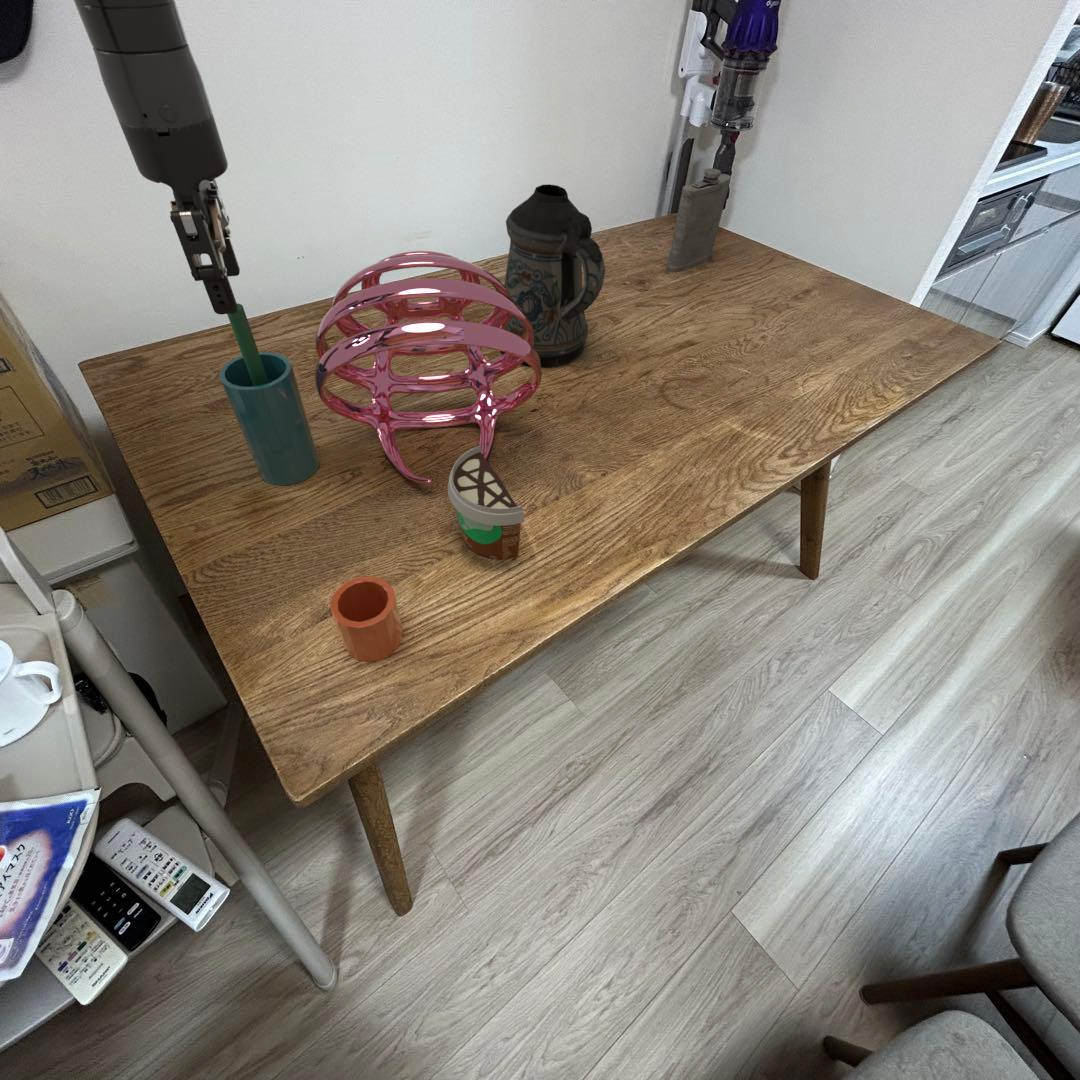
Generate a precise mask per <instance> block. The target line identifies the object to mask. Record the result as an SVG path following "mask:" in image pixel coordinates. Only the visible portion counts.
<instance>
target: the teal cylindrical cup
mask: <svg viewBox="0 0 1080 1080" xmlns="http://www.w3.org/2000/svg"><path fill="white" fill-rule="evenodd" d="M258 352H259V355H260V358H261V361H262V364H263V366H264V369H265V372H266V375H267V378H268V381H269V383H268V384H265V385H261V386H253V383H252V380H251V378H250V375H249V372H248V369H247V367H246V364H245V361H244V359H243V356H242V355H238V356H237V357H235V358H233V359H230V360H229V361H228V362H227V363H225V364H223V366H222V367H221V369H220V371H219V376H218V377H219V381H220V383H221V385H222V388H223V389H224V393H225V395H226V397H227V400H228V402H229V405H230V407H231V409H232V411H233V414H234V417H235V419H236V422H237V424H238V426H239V429H240V431H241V434H242V436H243V439H244V441H245V443H246V446H247V449H248V450H249V453H250V456H251V459H252V460H253V463H254V465H255V467H256V470H257V472H258V475H259V476H260V478H261V479H262V480H263V481H265V482H266V483H268V484H271V485H276V486H291V485H296V484H299V483H303V482H304V481H306V480H308V479H309V478H311V477H312V476H313V475H314V474H316V472H317V471H318V469H319V468H320V464H321V459H320V456H319V451H318V448H317V445H316V441H315V439H314V436H313V432H312V428H311V425H310V422H309V419H308V416H307V411H306V409H305V405H304V402H303V399H302V396H301V392H300V388H299V386H298V382H297V379H296V376H295V373H294V369H293V365H292V363H291V362H290V360H289V359H288V358H287V357H286V356H284V355H282V354H280V353H275V352H269V351H268V352H267V351H258Z"/></svg>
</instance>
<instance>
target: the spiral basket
mask: <svg viewBox="0 0 1080 1080" xmlns="http://www.w3.org/2000/svg"><path fill="white" fill-rule="evenodd" d="M411 268H413V269H414V268H440V269H449V270H455V271H458V272H459V275H460V277H461V279H449V278H437V277H436V278H435V277H434V278H429V277H428V278H427V277H426V278H410V279H401V280H395V281H390V282H385V283H381V282H380V278H381V276H382V274H384V273H388V272H392V271H398V270H403V269H404V270H405V269H411ZM480 278H481V279H483V280H485V281H487V282H488V283H489V284H491V285H492V287H494V288H491V287H488V286H485V285H482V284H481V281H480ZM360 283H361V284H360ZM358 284H360V285H361V290H359V291H356V292H354V293H352V294H350V295H348V294H349V292H350V291H351V290H352V289H353V288H355V286H357V285H358ZM425 298H430V299H431V298H438V299H436V300H432V301H420V302H419V301H409V300H411V299H425ZM473 302H475V303H476V302H477V303H481V304H485V305H489V306H491V307H494V309H493V311H492V312H491V313H490V314H489V315H488V316H487V317H486V318H484V319H483V320H482V321H481V322H473V321H467V320H466V318H465V317H464V314H463V310H464V309H466V308H467V307H469V306H470V305H471V304H472V303H473ZM370 307H373V308H375V309H376V310H378V311H380V312H382V313H384V314H385V315H386V320H385V323H384V325H383V326H379V327H374V328H370V327H368V326H366V325H364V324H363V323H361V322H359V321H358V320H357V319H356V318H354V316H353V314H355V313H357V312H359V311H362V310H365V309H368V308H370ZM512 315H513V316H515V317H516V318H517V319H519V320H520V321H521V322H522V323H523V325H524V330H523V334H522V336H521V337H520V336H518V335H516V334H514V333H512V332H509V331H507V330H504V329H503V328H504V327H505V326H506V325H507V324H508V322H509V320H510V318H511V316H512ZM443 317H446V318H447V317H448V318H449V319H438V318H443ZM403 319H409V320H412V321H404V322H401V320H403ZM450 319H451V320H450ZM413 320H414V321H413ZM334 326H336V328H337V329H338V331H339V332H340V333H341V334H343V336H344V337H346V338H345V339H343V340H341V341H339V342H338V343H336V344H335V345H333V346H332V347H330V346H329V344H328V342H327V339H326V335H327V333H328V332H329V331H330V329H332V327H334ZM315 335H316V336H315V344H314V345H315V352H316V355H317V358H318V362H317V364H316V367H315V370H314V385H315V390H316V393H317V395H318V397H319V399H320V401H321V402H322V403H323V404H324V405H325V406H326V408H328V409H329V410H330V411H332V412H333V413H334V414H337V415H339V416H341V417H343V418H346V419H348V420H351V421H354V422H356V423H361V424H364V425H367V426H370V427H372V428H373V429H374V431H375V432H376V435H377V436H378V438H379V441H380V444H381V446H382V449H383V451H384V453H385V455H386V456H387V458H388V460H389V461H390V463H391V464H392V466H393V467H394V468H395V469H396V470H397V471H398V472H399V473H400V474H401V475H402V476H403V477H405V478H407V480H410V481H412V482H413V483H416V484H419V485H424V486H428V485H431V484H432V480H431V479H430V478H427V477H423V476H420V475H418V474H416V473H415V472H413V471H412V470H411V469H410V468H409V466H408V465H407V463H406V462H405V460H404V458H403V456H402V454H401V451H400V449H399V447H398V444H397V441H396V437H395V431H397V430H400V429H401V430H402V429H408V430H409V429H412V430H414V429H420V430H421V429H437V428H439V429H440V428H449V427H455V426H456V427H457V426H461V425H467V424H477V425H478V427H479V439H478V446H480V445H481V450H482V455H483V456H484V458H485V459H486V460H487V459H488V456H489V454H490V452H491V449H492V445H493V441H494V436H495V429H496V423H497V421H498V419H499V417H501V416H503V414H505V413H508V412H510V411H512V410H513V409H516V408H518V407H520V406H521V405H522V404H524V403H525V402H527V401H528V400H530V399H531V398H532V397H533V396H534V395H535V394H536V392H537V391H538V389H539V387H540V385H541V381H542V376H543V368H542V366H541V360H540V357H539V355H538V353H537V351H536V350H535V348H534V347H533V345H534V331H533V328H532V325H531V322H530V320H529V318H528V316H527V315H526V313H525V312H524V310H523V309H522V308H521V307H520V306H519V305H518V304H517V303H516V302H515V301H513V300H512V298H511V296H510V294H509V292H508V290H507V289H506V287H505V286H504V283H503V282H501V280H499V279H498V278H497V277H496V276H495V275H493V274H492V273H491V272H489V271H488V270H486V269H484V268H482V267H481V266H479V265H477V264H474V263H472V262H469V261H466V260H463V259H460V258H458V257H456V256H453V255H450V254H447V253H443V252H439V251H433V250H432V251H431V250H413V251H412V250H411V251H405V252H399V253H396V254H391V255H390V256H387V257H385V258H383V259H380V260H379V261H377V262H376V263H372V264H371V265H368V266H366V267H363V268H362V269H361V270H359V271H357V272H356V273H354V274H353V275H352V276H350V277H349V278H348V279H346V280H345V282H344V283H343V284H342V285H341V286H340V288H339V289H338V290H337V292H336V294H335V296H334V297H333V300H332V304H331V308H330V309H329V310H328V311H327V312H326V314H325V315H324V316H323V317H322V319H321V321H320V323H319V325H318V328H317V332H316V334H315ZM482 348H485V349H491V350H495V351H498V352H500V351H502V352H505V353H506V354H504V355H501V356H499V357H498V358H496V359H493V360H487V359H486V357H485V356H484V354H483V351H482ZM454 353H464V354H465V355H466V357H467V360H468V366H467V368H466V369H464V370H461V371H456V372H450V373H443V374H432V375H401V374H396V373H394V372H393V371H392V369H391V362H392V360H393V359H394V357H397V356H407V357H431V356H433V357H435V356H442V355H448V354H454ZM371 355H374V362H373V365H372V367H370V368H364V367H362V366H358V365H356V364H354V363H353V362H355V361H358V360H360V359H362V358H365V357H368V356H371ZM524 361H525V362H526V363H528V364H529V365H530V366H531V367H530V368H531V369H532V370H533V373H532V375H530V376H529V378H528V379H527V380H526V381H525V382H524V383H523V384H522V385H520V386H519V387H517V388H516V389H514V390H512V391H511V392H509V393H507V394H505V395H503V396H496V394H495V393H494V383H496V381H497V380H498V379H499V378H501V377H503V376H506V375H508V374H509V373H511V372H512V371H514V370H515V369H517V368H518V367H519V366H521V364H522V363H523V362H524ZM332 375H334V376H335V377H338V378H339V379H341V380H342V381H345V382H348V383H350V384H352V385H356V386H359V387H362V388H364V389H366V390H367V391H369V393H370V396H371V404H370V405H369V406H364V405H359V404H357V403H353V402H350V401H348V400H346V399H343V398H341V397H339V396H338V395H336V394H335V393H333V392H331V391H330V390H329V389H328V388H327V387H326V385H325V384H326V382H327V381H328V379H329V378H330V377H331V376H332ZM466 389H470V390H473V391H475V393H476V401H475V403H473V404H472V405H469V406H467V407H462V408H461V407H460V408H457V409H456V408H455V409H449V410H448V409H447V410H440V411H438V410H437V411H420V412H419V411H416V412H415V411H413V412H412V411H410V412H409V411H398V410H395V409H394V408H393V407H392V406H391V402H390V401H391V397H392V396H393V395H395V394H408V395H410V394H411V395H412V394H414V395H417V394H418V395H421V394H422V395H423V394H439V393H440V394H441V393H448V392H454V391H461V390H466Z"/></svg>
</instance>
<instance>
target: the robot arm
mask: <svg viewBox="0 0 1080 1080" xmlns="http://www.w3.org/2000/svg"><path fill="white" fill-rule="evenodd" d="M73 2H74V4H75V7H76V10H77V11H78V14H79V17H80V19H81V22H82V25H83V27H84V29H85V32H86V34H87V37H88V39H89V42H90V44H91V46H92V50H93V53H94V55H95V59H96V62H97V66H98V69H99V73H100V77H101V80H102V83H103V86H104V88H105V91H106V93H107V96H108V99H109V101H110V103H111V105H112V108H113V110H114V114H115V115H116V118H117V120H118V123H119V125H120V128H121V130H122V133H123V135H124V138H125V140H126V142H127V145H128V147H129V150H130V153H131V155H132V158H133V160H134V163H135V165H136V167H137V170H138V172H139V173H140V175H141V176H142V177H143V178H145V179H146V180H148V181H150V182H153V183H157V184H160V183H161V184H163V185H166V186H168V187H170V188H171V190H172V195H173V198H174V200H170V207H171V210H170V212H169V214H170V215H169V219H170V221H171V223H172V224H173V227H174V229H175V232H176V234H177V237H178V240H179V242H180V245H181V248H182V251H183V253H184V256H185V259H186V261H187V264H188V266H189V267H188V268H189V269H190V275H191V276H192V278H193V280H194V281H195V282H201V281H202V284H203V285H204V288H205V291H206V294H207V296H208V299H209V302H210V304H211V307H212V309H213V312H214V313H215V314H216V315H227V314H231V313H236V312H237V300H236V297H235V294H234V291H233V289H232V286H231V283H230V280H229V278H230V277H237V276H239V275H240V272H241V269H240V266H239V261H238V259H237V257H236V254H235V250H234V248H233V244H232V241H231V234H232V233H231V229H230V228H229V225H230V218H229V215H228V214H227V210H226V208H225V205H224V202H223V199H222V195H221V193H220V190H219V187H218V184H217V181H216V179H218V178H219V177H221V176H222V175H223V174H225V173H226V172H227V170H228V165H229V162H228V159H227V156H226V153H225V150H224V149H225V148H224V146H223V143H222V139H221V136H220V133H219V130H218V126H217V123H216V120H215V117H214V113H213V111H212V107H211V103H210V101H209V100H210V99H209V97H208V94H207V90H206V87H205V84H204V81H203V79H202V75H201V72H200V70H199V68H198V66H197V63H196V60H195V59H194V56H193V53H192V51H191V48H190V45H189V44H188V39H187V36H186V35H187V34H186V32H185V29H184V26H183V23H182V19H181V16H180V12H179V9H178V6H177V3H176V1H175V0H73ZM202 255H208V257H209V260H210V262H211V263H210V264H203V262H202V258H201V256H202Z"/></svg>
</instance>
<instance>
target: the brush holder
mask: <svg viewBox="0 0 1080 1080" xmlns="http://www.w3.org/2000/svg"><path fill="white" fill-rule="evenodd" d="M330 614H331V616H332V618H333V621H334V624H335V626H336V630H337V632H338V634H339V637H340V640H341V642H342V645H343V647H344V649H345V650H346V652H347V654H348V655H349V656H350V657H352V658H353V659H355V660H357V661H361V662H366V663H371V662H372V663H375V662H378V661H382V660H384V659H386V658H388V657H390V656H391V655H392V654H394V653H395V652H396V651H397V650H398V648H399V647H400V645H401V644H402V641H403V637H404V629H403V628H404V627H403V624H402V619H401V615H400V612H399V606H398V603H397V598H396V593H395V590H394V589H393V587H392V586H391V585H390V583H389V582H388V581H386V580H384V579H382V578H380V577H377V576H369V575H365V576H360V577H355V578H352V579H350V580H349V581H347V582H344V583H342V585H341V586H340V587H339V588H338V589H337V590H335V592H334V593H333V595H332V598H331V600H330Z"/></svg>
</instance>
